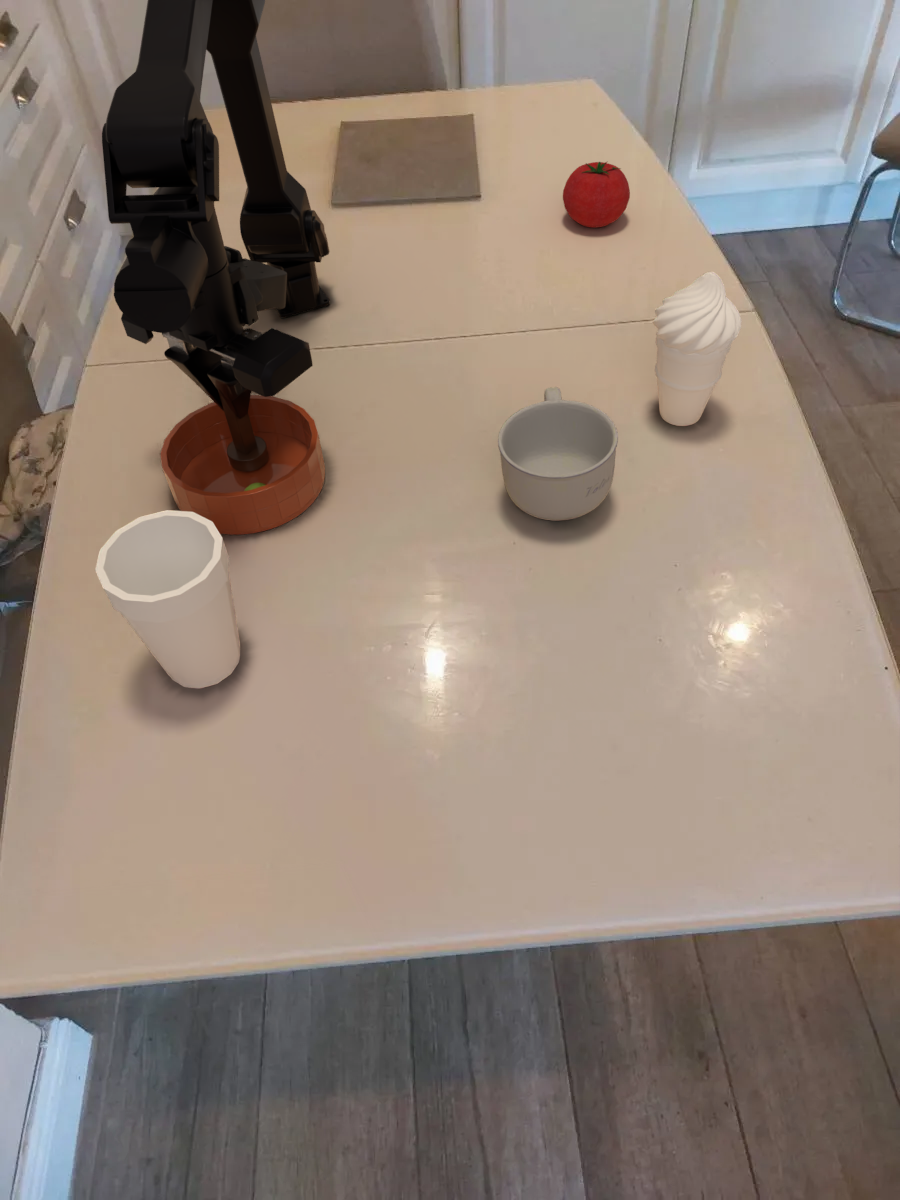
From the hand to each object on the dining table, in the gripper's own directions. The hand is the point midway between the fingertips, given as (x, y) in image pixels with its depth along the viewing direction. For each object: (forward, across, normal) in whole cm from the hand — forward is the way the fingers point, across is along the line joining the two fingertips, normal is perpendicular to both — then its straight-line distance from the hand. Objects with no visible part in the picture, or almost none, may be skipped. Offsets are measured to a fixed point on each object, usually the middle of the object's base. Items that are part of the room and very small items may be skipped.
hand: (235, 412), depth 88 cm
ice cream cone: (+7, -33, -31) cm, 46 cm away
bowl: (+7, -2, +2) cm, 7 cm away
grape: (+5, -6, +4) cm, 9 cm away
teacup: (+7, -28, -14) cm, 32 cm away
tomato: (+7, -5, -62) cm, 63 cm away
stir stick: (+6, 0, 0) cm, 6 cm away
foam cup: (+7, -14, +20) cm, 26 cm away
